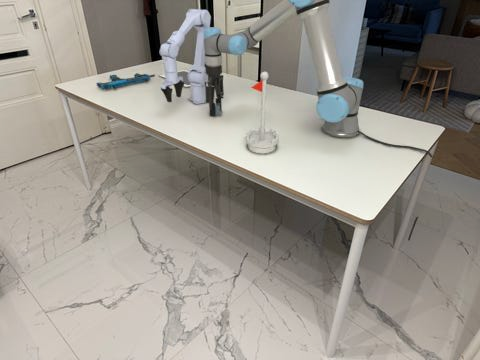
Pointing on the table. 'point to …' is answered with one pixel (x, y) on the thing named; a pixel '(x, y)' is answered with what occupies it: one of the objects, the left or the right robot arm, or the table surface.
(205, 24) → the left robot arm
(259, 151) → the flag stand
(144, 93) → the table surface
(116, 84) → the submachine gun
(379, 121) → the table surface
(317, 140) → the table surface
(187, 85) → the tablet
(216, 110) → the block
